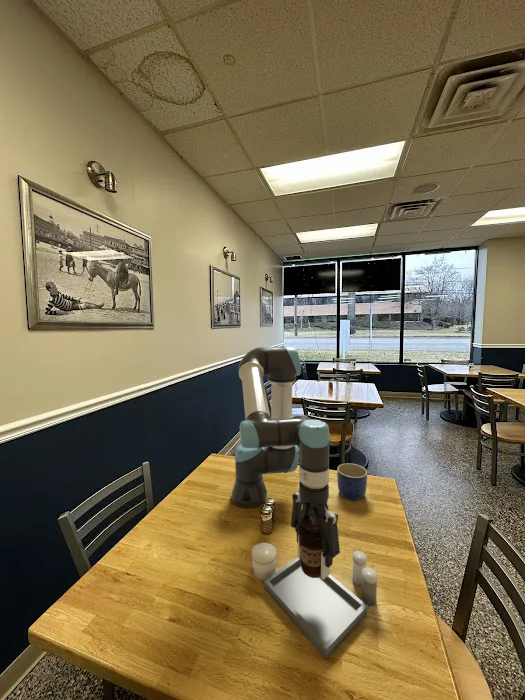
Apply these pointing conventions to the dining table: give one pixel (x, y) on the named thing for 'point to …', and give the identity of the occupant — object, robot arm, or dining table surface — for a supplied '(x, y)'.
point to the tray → (316, 606)
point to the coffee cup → (310, 547)
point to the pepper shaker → (369, 586)
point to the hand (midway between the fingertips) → (313, 565)
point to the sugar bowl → (264, 560)
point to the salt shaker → (358, 566)
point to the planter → (352, 481)
